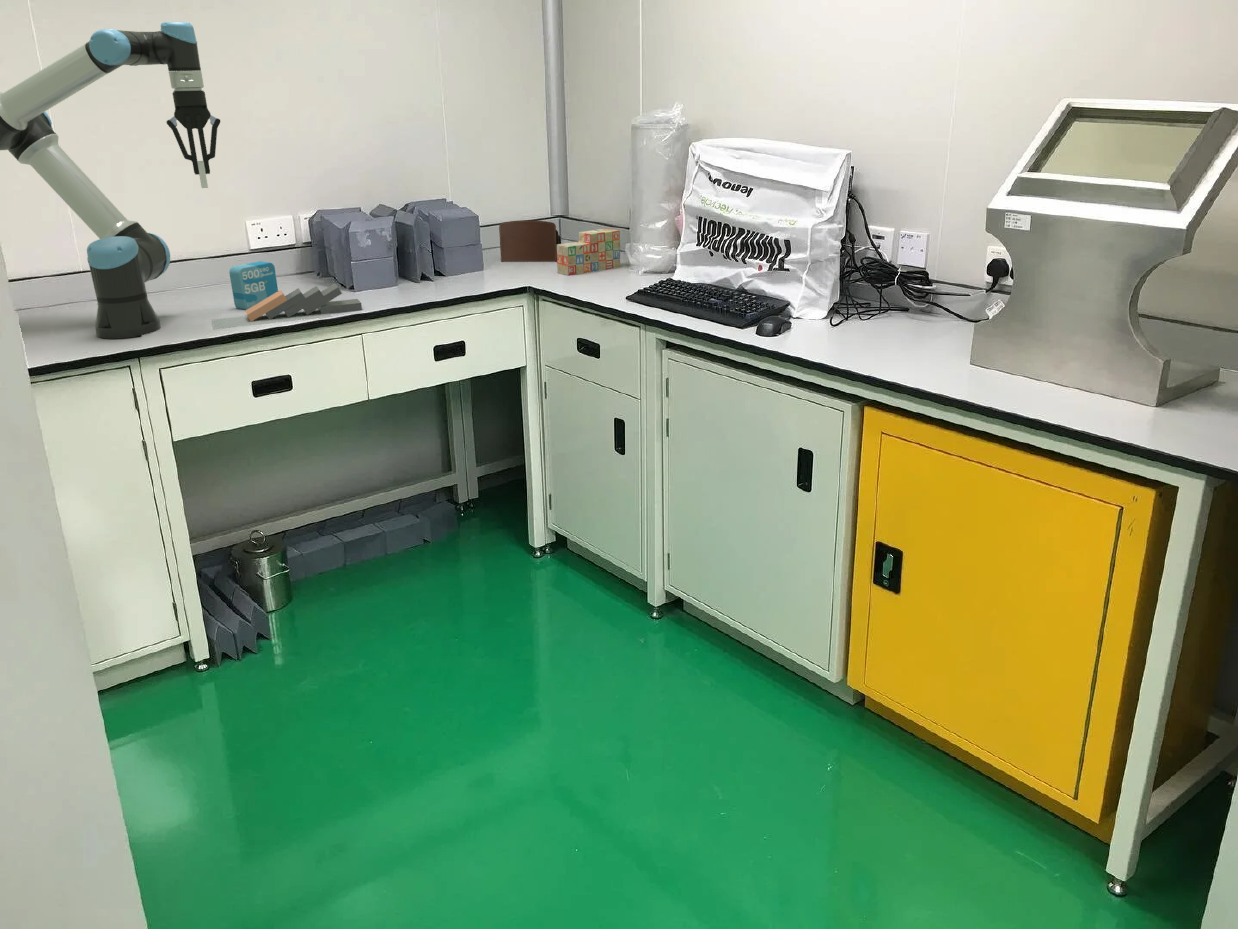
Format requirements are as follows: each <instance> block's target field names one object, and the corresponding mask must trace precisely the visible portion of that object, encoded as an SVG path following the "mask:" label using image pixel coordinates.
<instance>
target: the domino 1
mask: <svg viewBox="0 0 1238 929" xmlns="http://www.w3.org/2000/svg"><path fill="white" fill-rule="evenodd" d="M285 296H286V295H285V293H283V291H282V289H278V292H276V293H274V294H273V295H271V296H269V297H268V298H266V299H264V300H262V301H261V302H259V303H257V304H256V305H254V306H252V307H251V308H249V309H247V310H244V312H245V316H247V317H248V318H249V319H250V321H251V322H252V321H253V320H255V319H257V318H258V317H260V316H262V315H263V314H265V313H267V312H268V311H270V310H272V309H273V308H275V307H277V306H278V305H280V304H282V303H284V302H285V301H287V298H286V297H285Z"/></svg>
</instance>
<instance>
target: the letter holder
mask: <svg viewBox="0 0 1238 929" xmlns="http://www.w3.org/2000/svg"><path fill="white" fill-rule="evenodd" d="M498 229H499V233H498V234H499V247H500V248H499V249H500V251H499V252H500V261H501V262H502V263H505V262H506V263H508V262H510V263H512V262H513V263H514V262H516V263H521V262H522V263H523V262H524V263H525V262H527V263H528V262H529V263H532V262H533V263H534V262H535V263H537V262H538V263H541V262H543V263H544V262H545V263H557V245H558V244H562V237H561V235H559V231H558V230H557V226H556V224H555V222H551V221H545V220H544V221H543V220H533V219H531V220H530V219H529V220H527V219H526V220H525V219H523V220H521V219H520V220H510V221H505V222H501V223H500V224H499V226H498Z"/></svg>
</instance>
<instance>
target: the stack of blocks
mask: <svg viewBox="0 0 1238 929" xmlns="http://www.w3.org/2000/svg"><path fill="white" fill-rule="evenodd" d="M620 233H621V232H620V229H619V230H618V229H613V228H612V229H611V228H599V229H597V228H596V229H593V230H586V231H579V232H578V241H574V242H565V243H561V244H558V245H557V262H556V264H557V267H556V268H557V274H561V275H565V276H573V275H579V274H587V272H588V273H593V271H594V272H598V271H599V270H600V271H605V270H611V269H617V268H618V269H619V268H621V239H620V238H621V237H620V236H621V234H620Z"/></svg>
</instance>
